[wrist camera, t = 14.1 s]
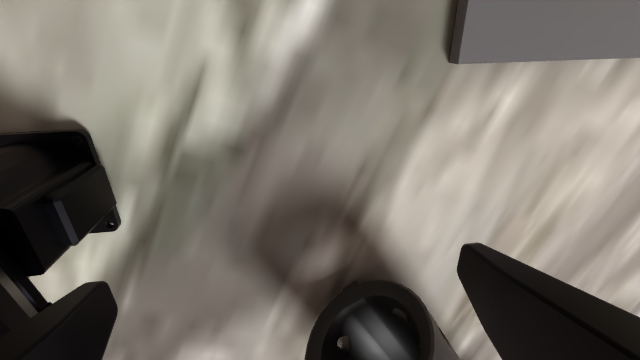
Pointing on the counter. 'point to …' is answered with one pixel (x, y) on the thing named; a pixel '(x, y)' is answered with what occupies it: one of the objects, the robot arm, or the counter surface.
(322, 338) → the muzzle brake
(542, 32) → the charcoal mat
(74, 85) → the counter surface
